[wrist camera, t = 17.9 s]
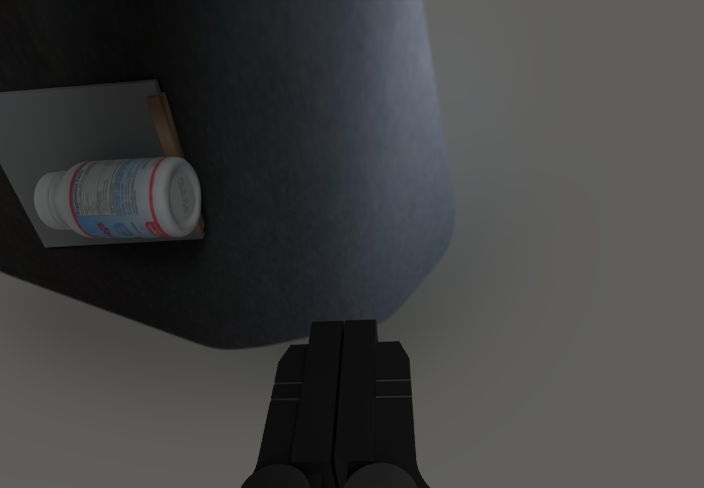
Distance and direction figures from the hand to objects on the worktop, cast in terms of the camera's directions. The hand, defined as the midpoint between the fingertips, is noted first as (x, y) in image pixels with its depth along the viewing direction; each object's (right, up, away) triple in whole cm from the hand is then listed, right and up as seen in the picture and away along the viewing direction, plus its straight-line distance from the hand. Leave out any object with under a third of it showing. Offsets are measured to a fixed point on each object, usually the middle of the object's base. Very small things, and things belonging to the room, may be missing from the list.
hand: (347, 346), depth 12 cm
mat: (-21, +9, +30) cm, 38 cm away
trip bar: (-14, +9, +30) cm, 34 cm away
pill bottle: (-12, +6, +26) cm, 29 cm away
